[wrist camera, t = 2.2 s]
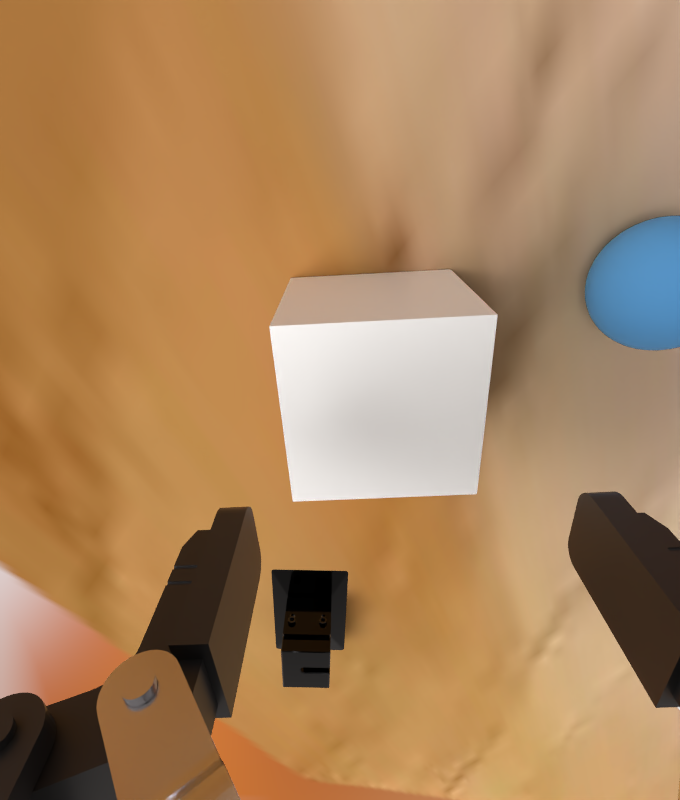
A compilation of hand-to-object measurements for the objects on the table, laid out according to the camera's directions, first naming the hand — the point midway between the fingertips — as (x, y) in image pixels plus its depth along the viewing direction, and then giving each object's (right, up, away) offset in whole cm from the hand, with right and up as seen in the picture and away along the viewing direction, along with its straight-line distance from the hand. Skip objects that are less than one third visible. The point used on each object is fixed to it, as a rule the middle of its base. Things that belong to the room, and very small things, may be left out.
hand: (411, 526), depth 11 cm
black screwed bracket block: (-4, -11, +20) cm, 23 cm away
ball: (+11, +8, +6) cm, 14 cm away
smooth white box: (0, +6, +10) cm, 12 cm away
